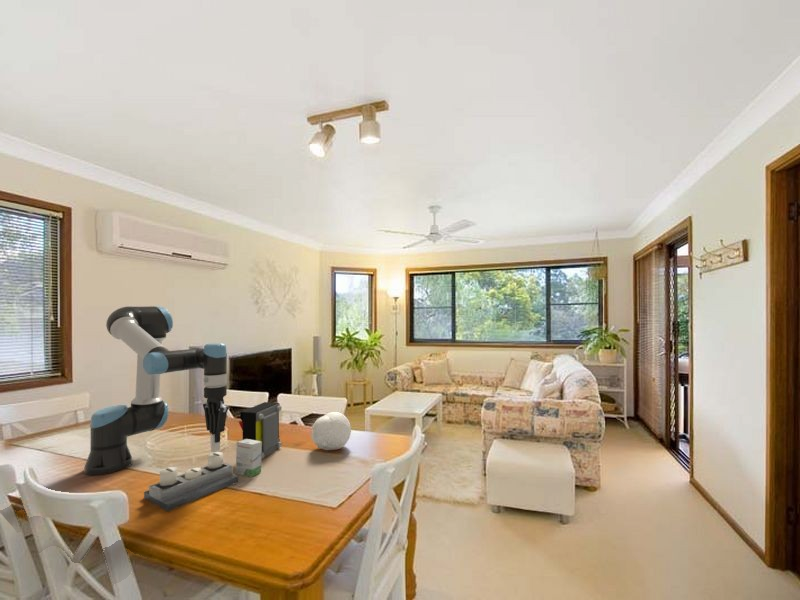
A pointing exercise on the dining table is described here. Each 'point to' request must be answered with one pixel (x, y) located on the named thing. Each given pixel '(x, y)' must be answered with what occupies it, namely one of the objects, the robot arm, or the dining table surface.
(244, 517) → the dining table surface
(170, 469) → the knob near
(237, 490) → the dining table surface
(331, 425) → the decorative orb
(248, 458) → the ink box
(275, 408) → the electrical component
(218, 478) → the mount
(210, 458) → the knob far
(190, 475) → the knob mid
